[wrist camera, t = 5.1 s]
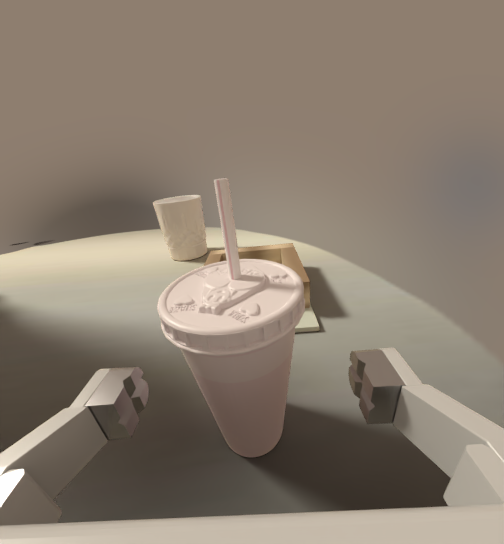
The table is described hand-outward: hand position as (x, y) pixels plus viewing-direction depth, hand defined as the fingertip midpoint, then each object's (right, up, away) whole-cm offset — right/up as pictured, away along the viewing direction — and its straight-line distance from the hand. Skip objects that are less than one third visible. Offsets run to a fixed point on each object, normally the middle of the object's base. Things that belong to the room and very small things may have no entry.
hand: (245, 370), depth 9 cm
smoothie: (0, -6, +5) cm, 8 cm away
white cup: (-11, +7, +35) cm, 37 cm away
